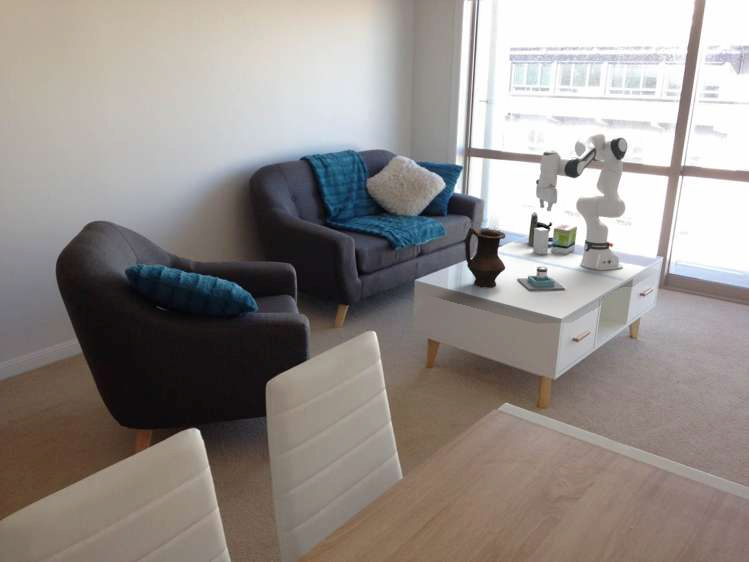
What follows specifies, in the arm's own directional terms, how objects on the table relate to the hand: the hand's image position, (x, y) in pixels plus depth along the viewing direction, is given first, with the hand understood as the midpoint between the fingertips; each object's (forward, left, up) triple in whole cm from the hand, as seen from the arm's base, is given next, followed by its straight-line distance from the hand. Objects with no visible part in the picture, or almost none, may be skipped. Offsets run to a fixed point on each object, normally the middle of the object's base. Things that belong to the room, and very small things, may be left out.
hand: (545, 209), depth 342 cm
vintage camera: (-23, -60, -35) cm, 73 cm away
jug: (+37, +20, -34) cm, 54 cm away
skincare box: (-15, -40, -35) cm, 55 cm away
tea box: (-31, -44, -35) cm, 64 cm away
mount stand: (+8, +23, -34) cm, 42 cm away
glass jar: (+8, +23, -33) cm, 41 cm away
